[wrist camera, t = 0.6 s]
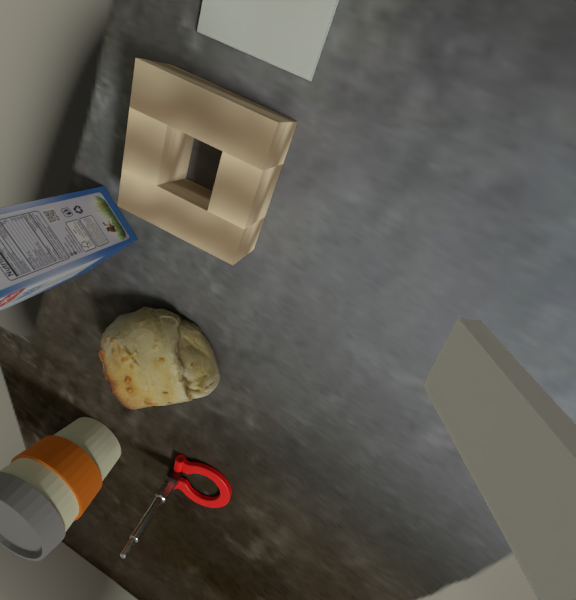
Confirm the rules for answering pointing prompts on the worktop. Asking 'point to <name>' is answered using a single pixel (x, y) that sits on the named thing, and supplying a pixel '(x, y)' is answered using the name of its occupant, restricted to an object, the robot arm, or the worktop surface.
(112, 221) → the milk carton
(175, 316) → the pastry
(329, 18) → the mat
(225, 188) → the hole block
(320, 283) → the worktop surface
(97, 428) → the reusable coffee cup
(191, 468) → the tow hook
